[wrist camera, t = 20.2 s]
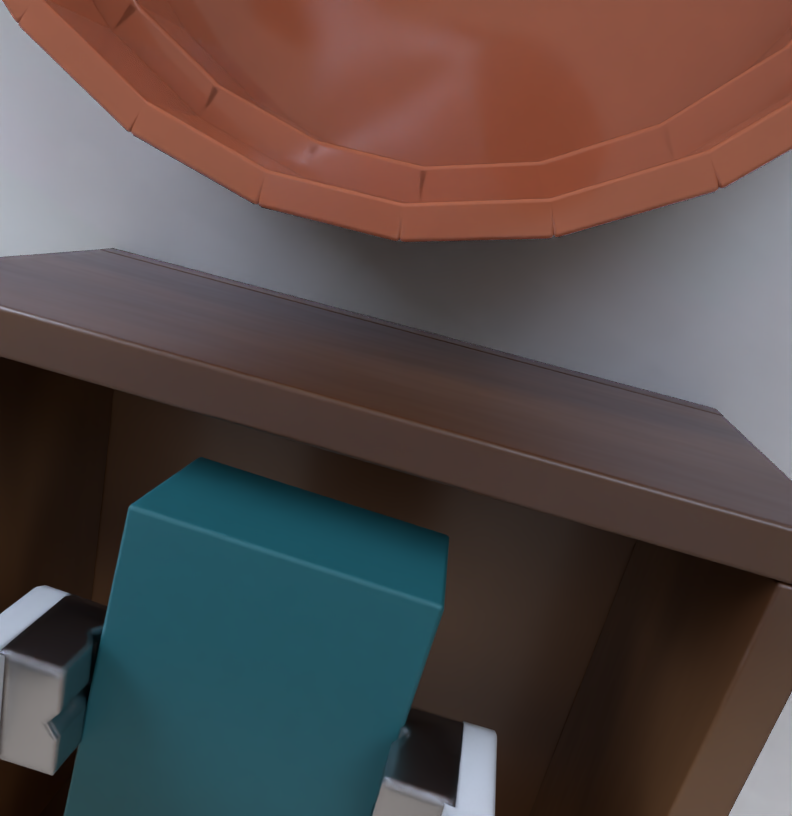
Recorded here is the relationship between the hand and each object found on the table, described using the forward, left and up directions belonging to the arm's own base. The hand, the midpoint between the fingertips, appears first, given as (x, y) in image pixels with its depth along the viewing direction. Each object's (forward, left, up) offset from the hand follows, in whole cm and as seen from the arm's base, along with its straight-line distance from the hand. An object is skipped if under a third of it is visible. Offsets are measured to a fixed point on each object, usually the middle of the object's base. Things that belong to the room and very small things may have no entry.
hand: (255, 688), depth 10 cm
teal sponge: (0, 0, -2) cm, 2 cm away
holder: (+3, 0, -7) cm, 8 cm away
